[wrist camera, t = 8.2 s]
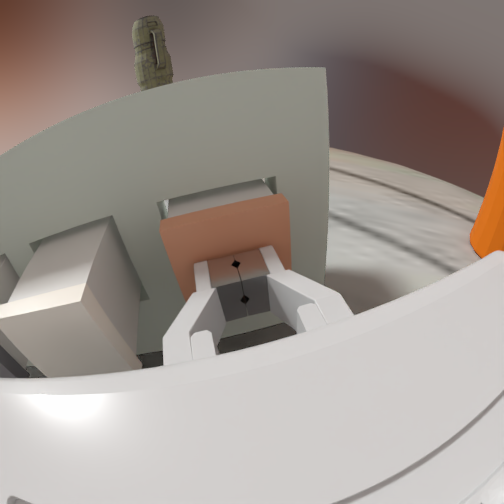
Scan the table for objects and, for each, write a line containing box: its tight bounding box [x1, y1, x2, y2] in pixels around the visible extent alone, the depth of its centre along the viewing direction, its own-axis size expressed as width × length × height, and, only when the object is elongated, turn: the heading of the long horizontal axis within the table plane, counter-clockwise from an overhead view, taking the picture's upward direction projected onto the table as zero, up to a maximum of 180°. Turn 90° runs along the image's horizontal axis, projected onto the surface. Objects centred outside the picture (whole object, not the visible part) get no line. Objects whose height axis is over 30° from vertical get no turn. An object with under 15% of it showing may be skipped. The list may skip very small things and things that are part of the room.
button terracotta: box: [159, 179, 292, 302], centre depth 14 cm, size 5×9×5 cm, turn 14°
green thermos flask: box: [132, 16, 173, 91], centre depth 52 cm, size 9×12×35 cm
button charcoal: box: [0, 253, 29, 378], centre depth 10 cm, size 5×9×5 cm, turn 14°
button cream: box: [0, 215, 142, 378], centre depth 11 cm, size 5×9×5 cm, turn 13°
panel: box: [0, 67, 329, 366], centre depth 15 cm, size 24×8×14 cm, turn 104°
